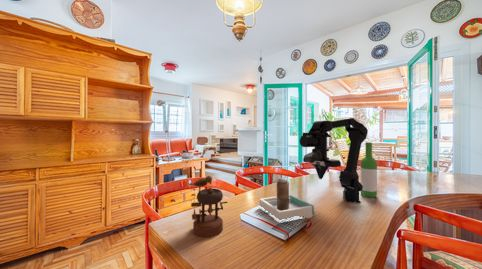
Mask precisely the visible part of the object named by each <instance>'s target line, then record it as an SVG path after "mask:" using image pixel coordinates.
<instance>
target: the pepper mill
mask: <svg viewBox="0 0 482 269" xmlns="http://www.w3.org/2000/svg"><path fill="white" fill-rule="evenodd" d="M277 180H278V181H276V196H277V209H278V210H280V211H282V210H288V209H289V196H290V182H289V181H288V180H289V179H288V178H286V177H277Z"/></svg>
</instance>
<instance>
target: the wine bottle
mask: <svg viewBox="0 0 482 269" xmlns="http://www.w3.org/2000/svg"><path fill="white" fill-rule="evenodd" d="M360 183H361V185H362V186H363V189H362V190H361V191H360V195H361V196H363V197H366V198H376V197H377V196H378V162H377V160H376V159H375V158H374V157H373V143H372V142H367V141H366V142H365V156H364V157H363V158H361V160H360Z"/></svg>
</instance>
